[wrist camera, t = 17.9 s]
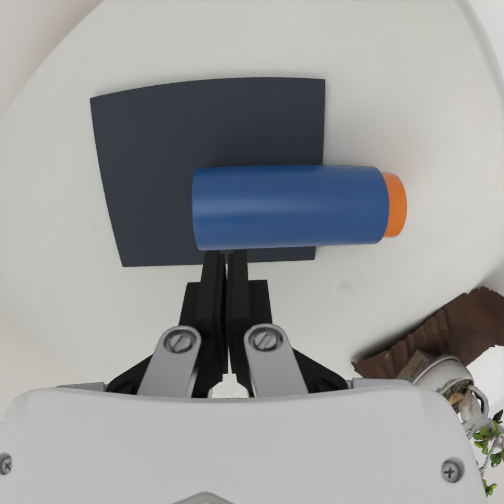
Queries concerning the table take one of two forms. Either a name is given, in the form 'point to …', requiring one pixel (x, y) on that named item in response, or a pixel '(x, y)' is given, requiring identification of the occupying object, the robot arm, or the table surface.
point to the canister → (295, 206)
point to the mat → (197, 155)
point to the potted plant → (451, 363)
